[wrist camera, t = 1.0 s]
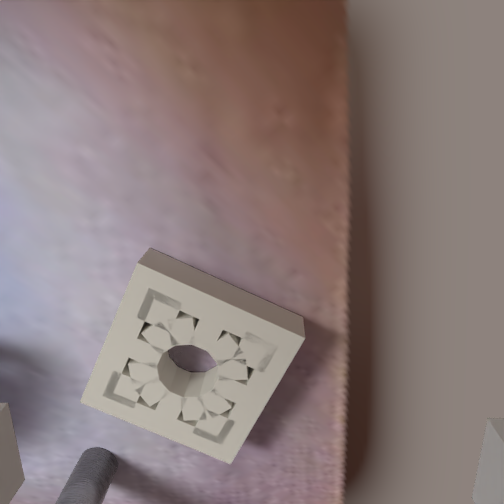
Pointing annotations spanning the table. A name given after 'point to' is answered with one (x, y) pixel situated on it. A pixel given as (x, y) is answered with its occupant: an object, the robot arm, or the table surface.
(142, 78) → the table surface
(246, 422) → the bore block
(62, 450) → the table surface
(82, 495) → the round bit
